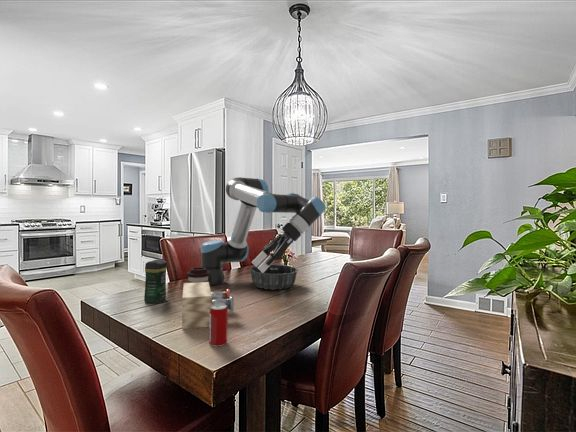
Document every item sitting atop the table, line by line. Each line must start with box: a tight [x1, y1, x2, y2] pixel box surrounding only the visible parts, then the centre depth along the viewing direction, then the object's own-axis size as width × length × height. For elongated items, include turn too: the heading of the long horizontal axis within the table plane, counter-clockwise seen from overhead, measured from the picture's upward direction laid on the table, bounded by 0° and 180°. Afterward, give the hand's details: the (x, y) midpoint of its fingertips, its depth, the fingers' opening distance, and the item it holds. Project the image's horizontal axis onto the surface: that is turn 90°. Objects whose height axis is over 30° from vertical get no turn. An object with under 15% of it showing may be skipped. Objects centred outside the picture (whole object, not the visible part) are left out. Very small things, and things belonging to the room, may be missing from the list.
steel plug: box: [212, 295, 235, 313], centre depth 119 cm, size 12×6×6 cm, turn 107°
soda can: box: [208, 304, 229, 348], centre depth 99 cm, size 6×6×12 cm
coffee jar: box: [143, 258, 167, 304], centre depth 142 cm, size 10×8×19 cm
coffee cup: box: [186, 266, 210, 283], centre depth 142 cm, size 10×10×15 cm
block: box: [181, 282, 212, 330], centre depth 122 cm, size 10×22×11 cm, turn 17°
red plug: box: [211, 288, 231, 300], centre depth 130 cm, size 12×6×6 cm, turn 107°
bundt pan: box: [249, 263, 299, 291], centre depth 173 cm, size 26×26×10 cm
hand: (256, 267), depth 123 cm, fingers open, 12 cm apart
